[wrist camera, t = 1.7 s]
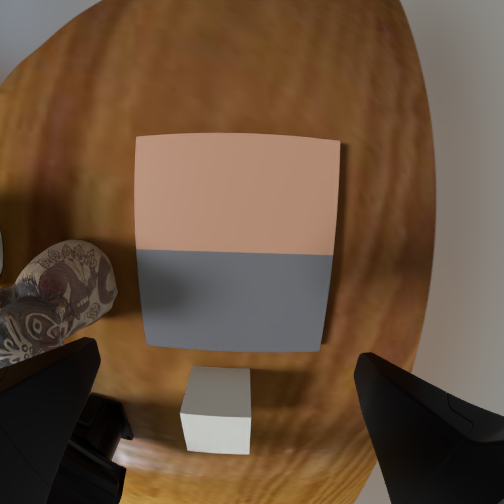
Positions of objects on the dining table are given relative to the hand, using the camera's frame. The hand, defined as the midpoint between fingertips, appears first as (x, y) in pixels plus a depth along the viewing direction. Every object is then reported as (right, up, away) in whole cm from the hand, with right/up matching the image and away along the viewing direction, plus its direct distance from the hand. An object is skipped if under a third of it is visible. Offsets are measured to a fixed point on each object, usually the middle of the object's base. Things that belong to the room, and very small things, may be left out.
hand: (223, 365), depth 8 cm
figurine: (-13, +1, +12) cm, 18 cm away
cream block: (-2, -9, +15) cm, 17 cm away
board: (0, +4, +12) cm, 12 cm away
